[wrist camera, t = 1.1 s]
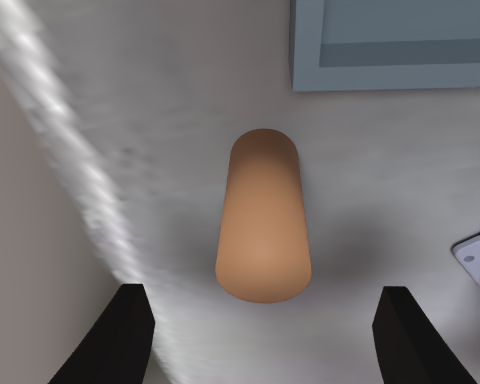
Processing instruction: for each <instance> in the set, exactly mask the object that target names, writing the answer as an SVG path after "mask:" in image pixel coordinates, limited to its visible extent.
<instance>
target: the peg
mask: <svg viewBox="0 0 480 384" xmlns="http://www.w3.org/2000/svg"><path fill="white" fill-rule="evenodd" d="M215 275H216V278H217V281H218V283H219V284H220V286H221V287H222V288H223V289H224V290H225V291H227V292H228V293H229V294H231V295H232V296H234V297H236V298H239V299H241V300H245V301H248V302H254V303H276V302H281V301H285V300H288V299H290V298H293V297H294V296H296V295H298V294H299V293H301V292H302V291H303V290H304V289H305V288H306V287H307V286H308V284H309V282H310V280H311V276H312V270H311V261H310V253H309V245H308V237H307V228H306V220H305V212H304V204H303V196H302V187H301V179H300V171H299V163H298V154H297V150H296V147H295V145H294V143H293V142H292V141H291V139H290V138H288V137H287V136H286V135H285V134H283V133H281V132H279V131H276V130H272V129H256V130H252V131H250V132H247V133H245V134H244V135H242V136H241V137H240V138H239V139H238V140H237V141H236V142H235V144H234V145H233V147H232V150H231V155H230V162H229V170H228V177H227V185H226V193H225V200H224V208H223V215H222V223H221V230H220V238H219V245H218V253H217V260H216V268H215Z"/></svg>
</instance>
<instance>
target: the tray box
mask: <svg viewBox="0 0 480 384" xmlns="http://www.w3.org/2000/svg"><path fill="white" fill-rule="evenodd" d="M289 67H290V75H291V82H292V89H293V92H303V91H345V90H387V89H429V88H471V87H480V0H290V32H289Z"/></svg>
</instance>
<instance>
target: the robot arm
mask: <svg viewBox="0 0 480 384" xmlns="http://www.w3.org/2000/svg"><path fill="white" fill-rule="evenodd" d="M453 253H454V255H455V257H456V258H457V259H458V261H459V262H460V263H461V264H462V265H463V267H464V268H465V269H466V270H467V271H468V273H469V274H470V275H471V276H472V278H473V279H474V280H475V281H476V282H477V284H478V285H479V286H480V235H478V236H476V237H474V238H472V239H469V240H467V241H465V242H463V243H460V244H458V245H457V246H455V248H454V249H453ZM154 328H155V319H154V316H153V313H152V310H151V307H150V304H149V301H148V298H147V295H146V292H145V289H144V286H143V284H122V285H121V286H120V288H119V289H118V291H117V292H116V294H115V295H114V297H113V298H112V300H111V301H110V303H109V304H108V305H107V307H106V308H105V310H104V311H103V313H102V314H101V315H100V317H99V318H98V320H97V321H96V322H95V324H94V325H93V327H92V328H91V329H90V331H89V332H88V333H87V335H86V336H85V337H84V339H83V340H82V341H81V343H80V344H79V346H78V347H77V348H76V350H75V351H74V352H73V353H72V355H71V356H70V357H69V358H68V359H67V361H66V362H65V363H64V364H63V366H62V367H61V368H60V369H59V370H58V372H57V373H56V374H55V375H54V377H53V378H52V379H51V380H50V382H49V383H48V384H142V382H143V378H144V375H145V371H146V367H147V364H148V360H149V357H150V352H151V346H152V340H153V334H154ZM372 329H373V335H374V342H375V348H376V353H377V359H378V363H379V367H380V370H381V374H382V378H383V381H384V384H477V382H476V381H475V380H474V379H473V377H472V376H471V375H470V374H469V373H468V371H467V370H466V369H465V368H464V366H463V365H462V364H461V362H460V361H459V360H458V358H457V357H456V356H455V355H454V353H453V352H452V351H451V349H450V348H449V347H448V345H447V344H446V343H445V341H444V340H443V339H442V337H441V336H440V335H439V333H438V332H437V330H436V329H435V328H434V326H433V325H432V323H431V322H430V321H429V319H428V318H427V316H426V315H425V313H424V312H423V311H422V309H421V308H420V306H419V305H418V303H417V302H416V300H415V299H414V297H413V296H412V294H411V293H410V291H409V290H408V289H407V288H406V287H405V286H384V287H383V291H382V294H381V297H380V301H379V304H378V307H377V311H376V314H375V317H374V321H373V324H372Z"/></svg>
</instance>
